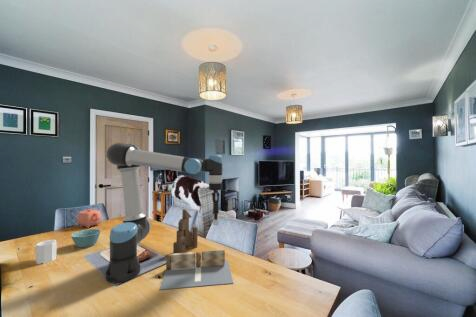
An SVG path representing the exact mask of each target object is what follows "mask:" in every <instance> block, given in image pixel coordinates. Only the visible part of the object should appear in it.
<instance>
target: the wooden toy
mask: <svg viewBox="0 0 476 317" xmlns="http://www.w3.org/2000/svg"><path fill="white" fill-rule="evenodd" d="M181 215H182V218H181V219H179V221H178V225H177V226H178V227H177V229H178V230H176V241H174V242H173V245H172V246H173V247H172V248H173V250H172V251H173V253H186V249H190V248H193V249H194V248H195V249H196V248H198V238H199V237H198V230H199V228H198V226H193V227H192V229H191V230H192V231H190V218H192V215H191V214H190V213H189V211H187V209H182V213H181ZM173 253H172V254H173Z"/></svg>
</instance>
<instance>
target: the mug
mask: <svg viewBox="0 0 476 317" xmlns="http://www.w3.org/2000/svg"><path fill="white" fill-rule="evenodd" d="M34 252H35V263H36V264H37V265H42V264H41V263H45V264H47V262H48V263H51V262H53V261H55V260H56V259H57V240H56V239H48V240H43V241H40V242H38V243H36V244H35V247H34ZM50 261H51V262H50Z"/></svg>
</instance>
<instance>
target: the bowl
mask: <svg viewBox="0 0 476 317" xmlns="http://www.w3.org/2000/svg"><path fill="white" fill-rule="evenodd" d="M101 231H102V230H101V229H99V228H87V229H84V230H80V231H77V232H76V231H75V232H74V233H72V234H71V235H70V237H71V239H72V241H73V243H74V245H75V247H77V248H78V249H83V248H84V249H85V248H88V247H89V248H90V247H92V246H94V245H95V244H96V243H97V242H98V239H99V237H100V234H101Z"/></svg>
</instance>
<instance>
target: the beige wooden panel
mask: <svg viewBox="0 0 476 317" xmlns="http://www.w3.org/2000/svg"><path fill="white" fill-rule="evenodd" d="M165 260H166V262H165V263H166V264H165V267H166V268H165V271H166V270H171V269H181V268H194V267H195V262H196V267H197V268H200V267H201V262H202V251H197V252H195V251H193V252H192V251H191V252H185V253H167V254H166V259H165Z"/></svg>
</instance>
